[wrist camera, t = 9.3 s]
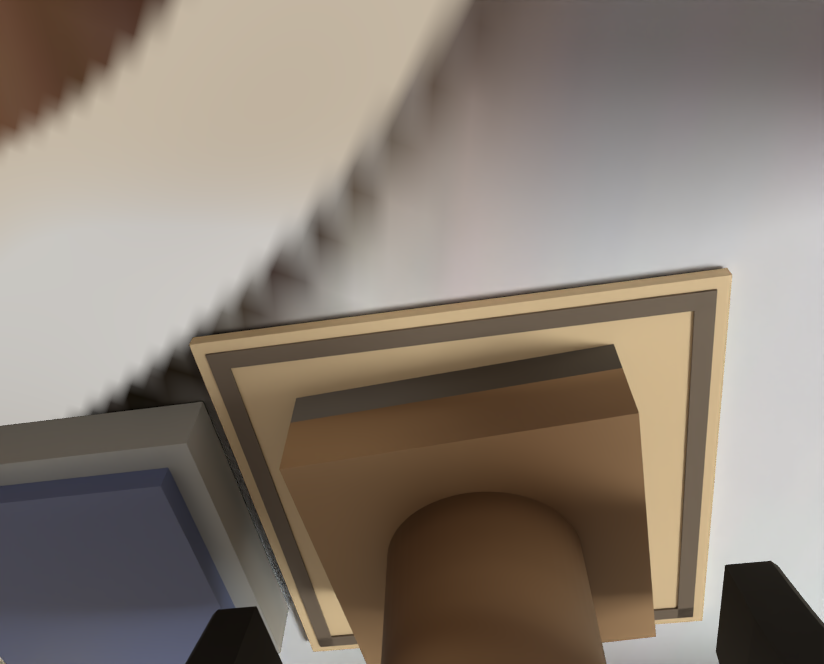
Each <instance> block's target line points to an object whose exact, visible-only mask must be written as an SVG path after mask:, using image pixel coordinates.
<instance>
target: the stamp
mask: <svg viewBox="0 0 824 664" xmlns="http://www.w3.org/2000/svg"><path fill="white" fill-rule="evenodd" d="M279 470H280V472H281V475H282V477H283V479H284V481H285V484H286V486H287V488H288V490H289V492H290V495H291V497H292V499H293V501H294V504H295V506H296V508H297V510H298V512H299V515H300V517H301V519H302V521H303V524H304V526H305V528H306V530H307V532H308V535H309V537H310V539H311V541H312V543H313V546H314V548H315V550H316V552H317V555H318V557H319V559H320V561H321V563H322V566H323V568H324V570H325V572H326V575H327V577H328V579H329V581H330V583H331V586H332V588H333V590H334V592H335V595H336V597H337V599H338V601H339V603H340V606H341V608H342V610H343V612H344V614H345V617H346V619H347V621H348V623H349V626H350V628H351V630H352V632H353V634H354V637H355V639H356V641H357V643H358V646H359V648H360V650H361V652H362V654H363V657H364V659H365V661H366V663H367V664H606V660H605V655H604V650H603V646H602V643H604V642H613V641H621V640H630V639H639V638H648V637H656V632H655V619H654V606H653V592H652V579H651V566H650V552H649V539H648V526H647V513H646V499H645V486H644V473H643V459H642V446H641V433H640V419H639V412H638V409H637V406H636V404H635V401H634V398H633V395H632V393H631V390H630V387H629V384H628V382H627V379H626V376H625V373H624V371H623V368H622V365H621V363H620V360H619V357H618V354H617V352H616V349H615V346H614V344H611V345H605V346H599V347H593V348H588V349H582V350H576V351H570V352H564V353H558V354H552V355H546V356H541V357H535V358H529V359H523V360H517V361H511V362H505V363H499V364H494V365H488V366H482V367H476V368H470V369H464V370H458V371H452V372H446V373H441V374H435V375H429V376H423V377H417V378H411V379H405V380H399V381H394V382H388V383H382V384H376V385H370V386H364V387H358V388H352V389H347V390H341V391H335V392H329V393H323V394H317V395H311V396H305V397H300V398H296V401H295V405H294V409H293V414H292V418H291V422H290V426H289V430H288V434H287V439H286V443H285V447H284V451H283V455H282V459H281V464H280V468H279Z"/></svg>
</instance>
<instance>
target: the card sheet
mask: <svg viewBox="0 0 824 664" xmlns="http://www.w3.org/2000/svg"><path fill="white" fill-rule="evenodd" d="M731 282H732V274H731V273H730V271H729V270H728V268H724V269H716V270H708V271H701V272H693V273H685V274H678V275H670V276H662V277H655V278H647V279H639V280H631V281H624V282H616V283H608V284H601V285H593V286H585V287H578V288H570V289H562V290H555V291H547V292H539V293H531V294H524V295H516V296H508V297H501V298H493V299H485V300H478V301H470V302H462V303H454V304H447V305H439V306H431V307H424V308H416V309H408V310H401V311H393V312H385V313H378V314H370V315H362V316H354V317H347V318H339V319H331V320H324V321H316V322H308V323H301V324H293V325H285V326H278V327H270V328H262V329H254V330H247V331H239V332H231V333H224V334H216V335H208V336H201V337H193V338H192V340H191V342H190V344H189V346H190V348H191V351H192V353H193V355H194V358H195V360H196V363H197V365H198V368H199V370H200V373H201V375H202V378H203V380H204V383H205V385H206V388H207V390H208V392H209V395H210V397H211V400H212V402H213V405H214V407H215V410H216V412H217V415H218V417H219V420H220V422H221V425H222V427H223V429H224V432H225V434H226V437H227V439H228V442H229V444H230V447H231V449H232V452H233V454H234V457H235V459H236V462H237V464H238V466H239V469H240V471H241V474H242V476H243V479H244V481H245V484H246V486H247V489H248V491H249V494H250V496H251V499H252V501H253V503H254V506H255V508H256V511H257V513H258V516H259V518H260V521H261V523H262V526H263V528H264V531H265V533H266V536H267V538H268V540H269V543H270V545H271V548H272V550H273V553H274V555H275V558H276V560H277V563H278V565H279V568H280V570H281V573H282V575H283V577H284V580H285V582H286V585H287V587H288V590H289V592H290V595H291V597H292V600H293V602H294V605H295V607H296V610H297V612H298V614H299V617H300V619H301V622H302V624H303V627H304V629H305V632H306V634H307V637H308V639H309V642H310V644H311V647H312V649H313V651H314V652H316V651H329V650H341V649H354V648H359V646H358V643H357V641H356V639H355V637H354V634H353V632H352V630H351V628H350V626H349V623H348V621H347V619H346V617H345V614H344V612H343V610H342V608H341V606H340V603H339V601H338V599H337V597H336V595H335V592H334V590H333V588H332V586H331V583H330V581H329V579H328V577H327V575H326V572H325V570H324V568H323V566H322V563H321V561H320V559H319V557H318V555H317V552H316V550H315V548H314V546H313V543H312V541H311V539H310V537H309V535H308V532H307V530H306V528H305V526H304V524H303V521H302V519H301V517H300V515H299V512H298V510H297V508H296V506H295V504H294V501H293V499H292V497H291V495H290V492H289V490H288V488H287V486H286V484H285V481H284V479H283V477H282V475H281V472H280V470H279V468H280V464H281V459H282V455H283V451H284V447H285V443H286V439H287V434H288V430H289V426H290V422H291V418H292V414H293V409H294V405H295V401H296V398H300V397H305V396H311V395H317V394H323V393H329V392H335V391H341V390H347V389H352V388H358V387H364V386H370V385H376V384H382V383H388V382H394V381H399V380H405V379H411V378H417V377H423V376H429V375H435V374H441V373H446V372H452V371H458V370H464V369H470V368H476V367H482V366H488V365H494V364H499V363H505V362H511V361H517V360H523V359H529V358H535V357H541V356H546V355H552V354H558V353H564V352H570V351H576V350H582V349H588V348H593V347H599V346H605V345H611V344H614V346H615V349H616V352H617V354H618V357H619V360H620V363H621V365H622V368H623V371H624V373H625V376H626V379H627V382H628V384H629V387H630V390H631V393H632V395H633V398H634V401H635V404H636V406H637V409H638V412H639V419H640V433H641V446H642V459H643V473H644V486H645V499H646V513H647V526H648V539H649V552H650V566H651V579H652V592H653V606H654V619H655V624H665V623H678V622H690V621H702V617H703V606H704V594H705V583H706V571H707V560H708V548H709V536H710V525H711V513H712V502H713V490H714V479H715V467H716V456H717V444H718V432H719V421H720V409H721V398H722V386H723V375H724V363H725V351H726V340H727V328H728V317H729V305H730V294H731Z"/></svg>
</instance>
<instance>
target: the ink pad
mask: <svg viewBox="0 0 824 664" xmlns="http://www.w3.org/2000/svg"><path fill="white" fill-rule="evenodd" d="M252 606H257V608H258V611H259V613H260V615H261V617H262V619H263V622H264V624H265V626H266V628H267V630H268V633H269V635H270V637H271V639H272V641H273V644H274V646H275V648H276V650H277V653H280V652H281V647H282V641H283V636H284V630H285V625H286V620H287V614H288V609H289V608H288V605H287V603H286V601H285V598H284V596H283V593H282V591H281V589H280V586H279V584H278V581H277V579H276V576H275V574H274V572H273V569H272V567H271V564H270V562H269V560H268V557H267V555H266V552H265V550H264V548H263V545H262V543H261V540H260V538H259V535H258V533H257V531H256V528H255V526H254V523H253V521H252V519H251V516H250V514H249V511H248V509H247V506H246V504H245V502H244V499H243V497H242V494H241V492H240V490H239V487H238V485H237V482H236V480H235V478H234V475H233V473H232V470H231V468H230V465H229V463H228V461H227V458H226V456H225V453H224V451H223V449H222V446H221V444H220V441H219V439H218V436H217V434H216V432H215V429H214V427H213V424H212V422H211V420H210V417H209V415H208V412H207V410H206V408H205V405H204V403H203V402H196V403H188V404H179V405H171V406H163V407H154V408H146V409H138V410H129V411H121V412H113V413H104V414H96V415H88V416H79V417H71V418H63V419H54V420H46V421H38V422H30V423H21V424H13V425H5V426H0V657H1V658H2V659H3V661H4V662H5V663H6V664H185V663H186V661H187V660H188V658H189V656H190V654H191V653H192V651H193V649H194V647H195V645H196V644H197V642H198V640H199V638H200V637H201V635H202V633H203V631H204V630H205V628H206V626H207V624H208V622H209V621H210V619H211V617H212V615H213V614H214V613H215V612H216V611H217V610H218V609H230V608H241V607H252Z"/></svg>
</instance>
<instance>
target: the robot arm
mask: <svg viewBox="0 0 824 664" xmlns="http://www.w3.org/2000/svg"><path fill="white" fill-rule="evenodd" d="M716 653H717V657H718V660H719V664H824V623H823V622H822V621H821V619H820V618H819V617H818V616H817V615H816V613H815V612H814V611H813V610H812V609H811V607H810V606H809V605H808V604H807V602H806V601H805V600H804V599H803V597H802V596H801V595H800V594H799V592H798V591H797V590H796V588H795V587H794V586H793V585H792V583H791V582H790V581H789V580H788V578H787V577H786V576H785V574H784V573H783V572H782V570H781V569H780V568H779V567H778V566H777V565H776V564H775V563H773V562H772V561H765V562H753V563H742V564H730V565H725V572H724V581H723V590H722V600H721V609H720V618H719V628H718V637H717V646H716ZM185 664H282V661H281V659H280V657H279V655H278V653H277V650H276V648H275V646H274V644H273V641H272V639H271V637H270V635H269V633H268V630H267V628H266V626H265V624H264V622H263V619H262V617H261V615H260V613H259V611H258V608H257V606H252V607H241V608H230V609H218V610H217V611H216V612H215V613H214V614H213V615H212V617H211V619H210V621H209V622H208V624H207V626H206V628H205V630H204V631H203V633H202V635H201V637H200V638H199V640H198V642H197V644H196V645H195V647H194V649H193V651H192V653H191V654H190V656H189V658H188V660H187V661H186V663H185Z"/></svg>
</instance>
